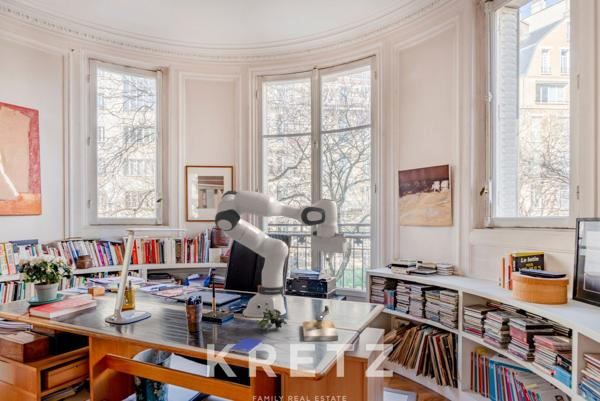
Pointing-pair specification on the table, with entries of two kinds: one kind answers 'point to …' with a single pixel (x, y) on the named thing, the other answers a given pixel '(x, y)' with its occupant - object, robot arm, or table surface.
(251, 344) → the hard drive
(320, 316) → the lock bar
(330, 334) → the door board
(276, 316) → the green leafy plant
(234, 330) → the table surface
